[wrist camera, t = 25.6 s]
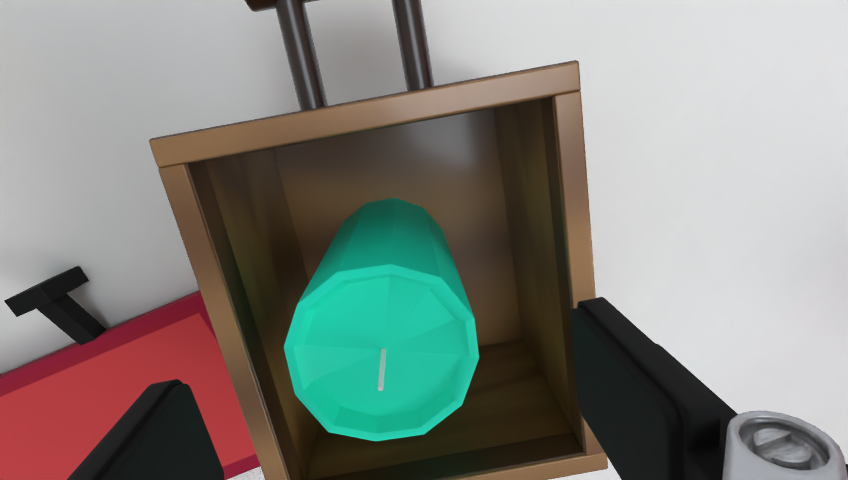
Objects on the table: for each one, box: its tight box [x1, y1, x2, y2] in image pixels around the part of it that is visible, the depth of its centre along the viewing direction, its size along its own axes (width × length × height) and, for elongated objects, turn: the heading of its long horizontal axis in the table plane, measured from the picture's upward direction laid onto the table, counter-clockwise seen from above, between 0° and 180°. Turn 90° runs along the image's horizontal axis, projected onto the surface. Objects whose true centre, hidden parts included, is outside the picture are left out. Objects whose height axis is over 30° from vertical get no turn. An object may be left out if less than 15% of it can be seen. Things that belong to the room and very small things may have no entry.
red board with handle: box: [0, 266, 260, 480], centre depth 25 cm, size 30×3×15 cm
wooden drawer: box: [149, 0, 608, 480], centre depth 19 cm, size 20×13×10 cm, turn 10°
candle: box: [284, 198, 479, 441], centre depth 17 cm, size 6×6×12 cm
